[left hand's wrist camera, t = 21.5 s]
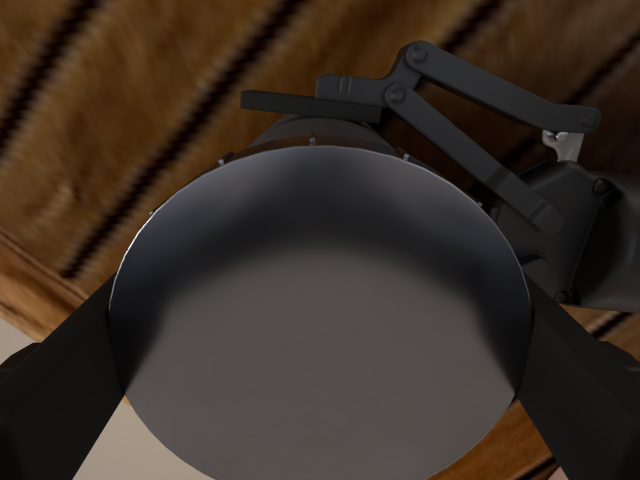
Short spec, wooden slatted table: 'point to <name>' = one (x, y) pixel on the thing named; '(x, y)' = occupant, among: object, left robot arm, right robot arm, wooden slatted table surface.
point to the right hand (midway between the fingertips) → (241, 204)
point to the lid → (320, 316)
